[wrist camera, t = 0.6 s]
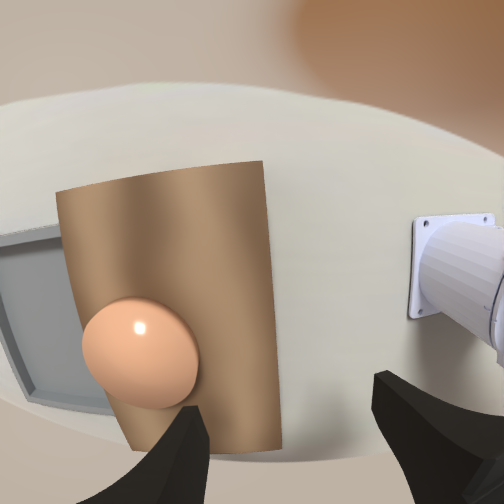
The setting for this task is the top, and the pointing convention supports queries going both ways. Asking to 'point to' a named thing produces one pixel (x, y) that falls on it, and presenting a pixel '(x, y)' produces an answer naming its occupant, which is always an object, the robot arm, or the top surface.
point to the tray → (44, 323)
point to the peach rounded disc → (141, 352)
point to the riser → (187, 288)
